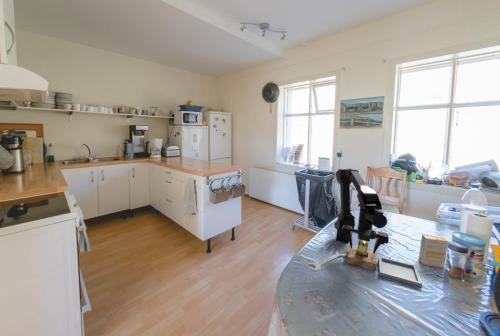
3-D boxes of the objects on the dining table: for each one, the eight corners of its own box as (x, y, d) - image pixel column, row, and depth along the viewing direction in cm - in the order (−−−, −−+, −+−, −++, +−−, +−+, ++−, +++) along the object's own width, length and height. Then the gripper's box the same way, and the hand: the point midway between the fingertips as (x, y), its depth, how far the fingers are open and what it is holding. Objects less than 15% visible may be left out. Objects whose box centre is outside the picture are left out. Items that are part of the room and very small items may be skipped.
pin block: (346, 262, 100) (346, 256, 100) (348, 250, 111) (349, 245, 110) (376, 270, 95) (377, 264, 94) (375, 257, 105) (376, 251, 105)
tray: (379, 276, 91) (379, 272, 90) (378, 260, 103) (378, 256, 102) (421, 288, 84) (422, 283, 84) (415, 269, 96) (415, 265, 96)
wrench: (305, 268, 97) (314, 274, 92) (305, 264, 96) (315, 270, 92) (339, 251, 111) (348, 255, 106) (339, 248, 110) (349, 252, 106)
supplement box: (439, 263, 102) (443, 236, 100) (444, 269, 97) (449, 241, 95) (417, 259, 104) (421, 233, 102) (421, 265, 100) (426, 237, 98)
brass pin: (356, 260, 102) (358, 242, 100) (356, 256, 105) (358, 239, 104) (366, 263, 100) (368, 244, 99) (366, 259, 103) (368, 241, 102)
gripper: (341, 220, 97) (338, 253, 99) (391, 230, 88) (386, 265, 91) (344, 212, 107) (341, 242, 109) (389, 220, 98) (385, 253, 100)
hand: (362, 250), depth 102 cm, fingers open, 9 cm apart
